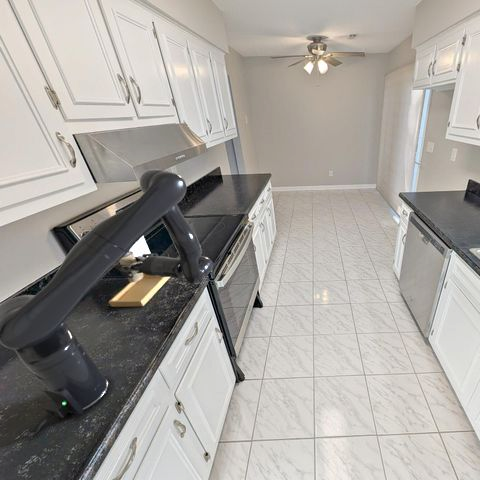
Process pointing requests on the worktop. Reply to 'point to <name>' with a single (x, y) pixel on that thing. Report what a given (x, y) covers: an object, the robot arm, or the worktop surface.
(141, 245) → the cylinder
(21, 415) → the worktop surface
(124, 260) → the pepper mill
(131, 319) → the worktop surface
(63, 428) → the worktop surface
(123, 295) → the tray
